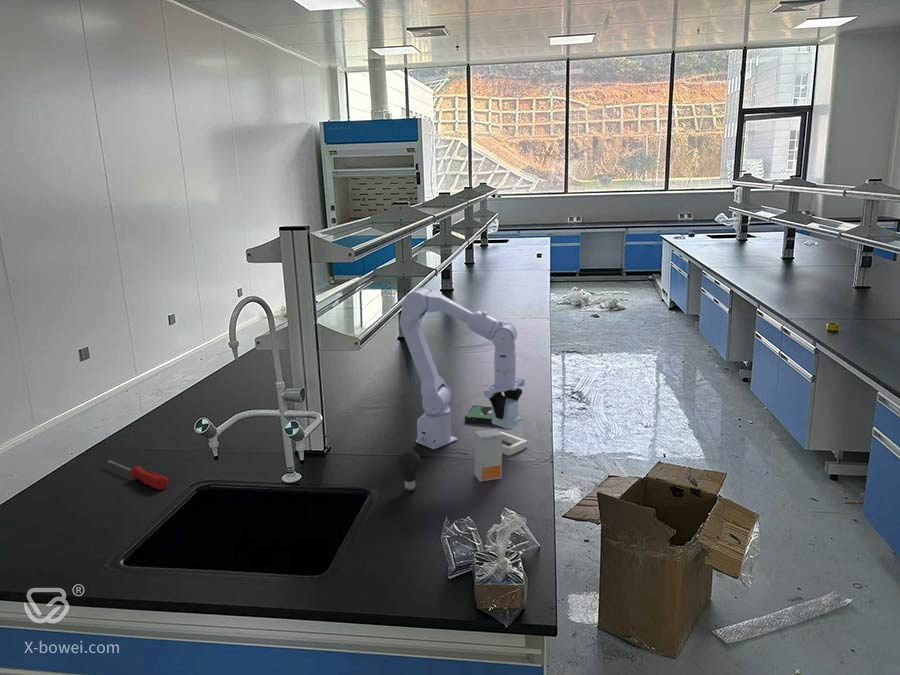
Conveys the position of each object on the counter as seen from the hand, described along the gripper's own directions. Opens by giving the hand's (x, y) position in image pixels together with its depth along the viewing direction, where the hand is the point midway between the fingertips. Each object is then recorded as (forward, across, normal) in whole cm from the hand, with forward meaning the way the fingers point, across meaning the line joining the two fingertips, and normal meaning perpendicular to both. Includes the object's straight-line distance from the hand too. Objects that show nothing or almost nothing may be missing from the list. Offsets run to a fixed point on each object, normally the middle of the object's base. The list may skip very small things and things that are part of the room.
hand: (504, 416), depth 175 cm
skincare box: (+9, -17, -10) cm, 22 cm away
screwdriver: (+9, -80, +55) cm, 98 cm away
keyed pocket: (+9, 0, 0) cm, 9 cm away
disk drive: (+10, +13, +17) cm, 23 cm away
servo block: (+2, 0, 0) cm, 3 cm away
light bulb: (+9, -35, 0) cm, 36 cm away
